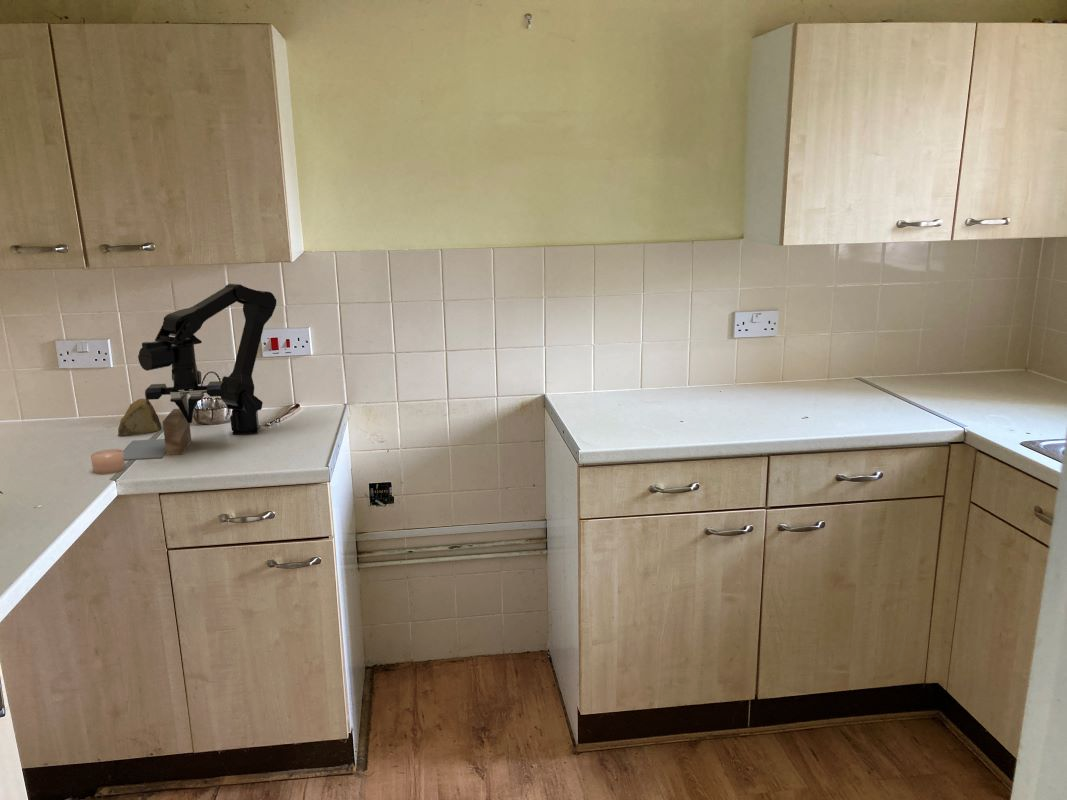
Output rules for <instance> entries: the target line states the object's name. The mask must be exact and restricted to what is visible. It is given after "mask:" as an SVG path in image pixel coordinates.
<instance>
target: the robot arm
mask: <svg viewBox="0 0 1067 800" xmlns="http://www.w3.org/2000/svg"><path fill="white" fill-rule="evenodd" d="M236 302H237V303H239V304H242V305H243V306H242V312H243V316H244V320H245V322H244V326H243V329H242V334H241V338H240V343H239V345H238V349H237V355H236V358H235V362H234V366H233V370H232V372H231V373H230V375H229V376H225V375H223V377H222V379H221V381H219V380H217V381H215V380H214V381H209V382H208V384H207V385H202V371H200V370H198V366H197V362H196V361H197V360H196V353H195V345H198V344H202V340H200V339H199V338H198V337H197V336H196V333H198V332H199V330H200V329H201V328H202V326H203V324H204V323H205V322H206V321H208V320H209V319H210V318H212V317H213V316H215V315H217V314H219V313H220V312H222V311H223V310H225V309H226V308H229V307H230V306H231V305H233V304H235V303H236ZM276 307H277V298H276V297H275V295H274V294H273V292H271V291H264V290H256V289H253V288H249V287H247V286H244V285H242V284H237V283H228V284H226V285H225V286H224V287H223V288H222V289H220V290H218V291H216V292H215V293H213V294H212V295H209V296H208V297H206V298H205V299H203V300H201V301H199V302H198V303H196V304H194V305H193V306H190V307H188V308H183V309H178V310H175V311H173V312H169V313H167V314H166V315H165V316H164V318H163V320H162V321H163V322H162V325H161V327H160V329H159V331H158V333H157V335H156V337H155V338H154V339H155V340H154V341H144V342H142V343H141V347H140V349H139V352H138V355H137V359H138V363H139V365H140V367H141V368H142V369H143V370H144V371H153V370H158V369H163V368H168V367H171V380H172V382H173V386H167V385H166V383H152V384H150V385H149V386H148V387H147V388H146V389H145V390H144V396H145V397H144V398H145V399H146V400H159V399H160V398H162V396H165V395H169V396H170V400H169V401H170V402H171V403H174V404H175V406H176V407H177V408H178V409H180V410H181V412H182V413H183V415H184V417H185V418H186V420H187V422H188V423H189V424H192V423H193V421H194V416H195V412H196V408H197V405H198V403H199V401H201V400H202V399H203V398H204V396H205V394H207V396H208V397H216V398H217V397H220V398H221V401H222V402H223V403H224V404H225V406H226V408H227V409H228V410H231V415H230V417H229V418H230V427H231V429H230V430H231V432H232V435H246V434H247V435H248V434H257V433H259V430H260V428H261V425H260V424H259V412H258V411H261V410H262V408H263V403H264V402H263V401H262V400H261V399H259V398H258V397H257V396H256V395H255V384H254V379H253V371H254V367H255V364H256V363H255V362H256V359H257V356H258V352H259V348H260V343H261V339H262V336H263V331H264V326H265V325H266V324H267V322H268V321H270V319H271V318H272V317H273V314H274V312H275V309H276ZM188 394H189V395H190V397H188Z"/></svg>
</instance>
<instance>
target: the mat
mask: <svg viewBox="0 0 1067 800" xmlns="http://www.w3.org/2000/svg"><path fill="white" fill-rule="evenodd" d="M122 451H123V453H124V461H137V460H139V461H140V460H153V459H154V460H156V459H163V457H164V456H165V455H166V454H167V453H166V445H165V438H157V439H156V438H155V439H138V440H136V439H135V440H131V442H129V444H127V446H126V447H125V448H124V449H123V450H122Z"/></svg>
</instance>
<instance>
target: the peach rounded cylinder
mask: <svg viewBox="0 0 1067 800" xmlns="http://www.w3.org/2000/svg"><path fill="white" fill-rule="evenodd" d="M125 461H126V460H124V453H123V450H122V449H119V448H113V449H112V448H109V449H103V450H99V451H96V452H93V453H92V454H91V455H90V462H91V467H92V473H94V474H96V475H97V474H98V475H107V474H108V475H109V474H115V473H118V472H121V471H123V470H125V469H126V462H125Z"/></svg>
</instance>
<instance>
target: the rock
mask: <svg viewBox="0 0 1067 800" xmlns="http://www.w3.org/2000/svg"><path fill="white" fill-rule="evenodd" d="M162 428H163V425H162V423H161V421H160V418H159V415H158V414H157V411H156V409H155V408H154V406H153V405H152V403H151V402H150V401H149V400H146V398H139V399H136V401H133V402H132V403H130V404H129V406H128V408H127V410H126V412H125V413H124V415H123V416H122V417H121V419H120V421H119V425H118V428H117V435H118V436H119V437H120V436H122V437H123V436H131V435H133V436H134V435H141V434H147V433H154V432H157V431H160V430H161V429H162Z"/></svg>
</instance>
